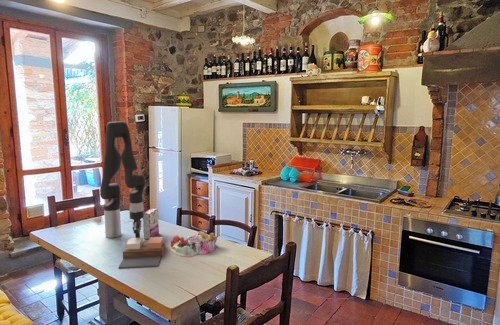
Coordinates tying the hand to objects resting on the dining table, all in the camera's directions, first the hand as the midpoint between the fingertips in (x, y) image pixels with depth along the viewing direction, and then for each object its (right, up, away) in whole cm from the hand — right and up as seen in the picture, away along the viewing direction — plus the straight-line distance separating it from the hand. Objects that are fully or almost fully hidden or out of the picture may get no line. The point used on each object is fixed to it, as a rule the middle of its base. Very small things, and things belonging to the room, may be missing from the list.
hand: (137, 239), depth 192 cm
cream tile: (+1, -2, -7) cm, 7 cm away
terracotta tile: (+12, -2, -6) cm, 13 cm away
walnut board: (+6, -6, -6) cm, 11 cm away
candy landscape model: (+32, -6, 0) cm, 33 cm away
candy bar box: (+2, -3, +20) cm, 20 cm away
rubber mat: (+8, -8, -19) cm, 22 cm away
